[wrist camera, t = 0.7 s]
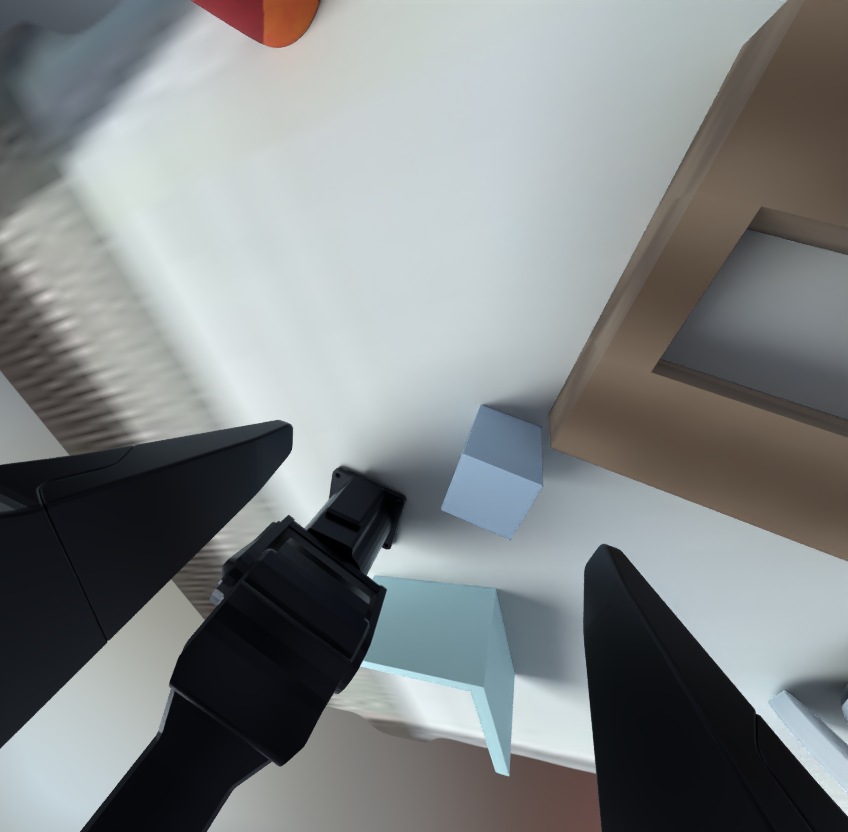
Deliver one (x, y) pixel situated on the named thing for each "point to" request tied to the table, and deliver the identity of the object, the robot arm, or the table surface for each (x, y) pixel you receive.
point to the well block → (691, 275)
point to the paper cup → (265, 18)
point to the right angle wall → (450, 649)
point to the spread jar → (815, 734)
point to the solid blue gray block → (497, 473)
